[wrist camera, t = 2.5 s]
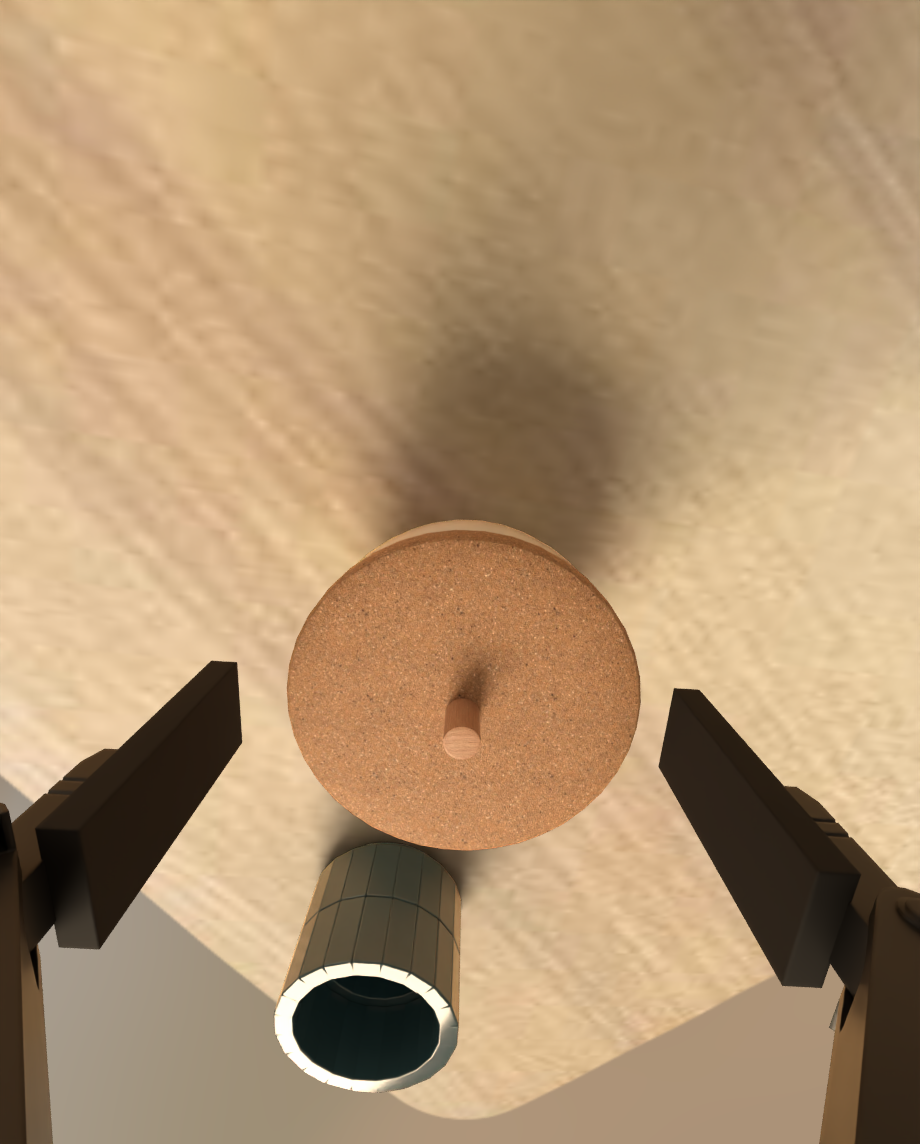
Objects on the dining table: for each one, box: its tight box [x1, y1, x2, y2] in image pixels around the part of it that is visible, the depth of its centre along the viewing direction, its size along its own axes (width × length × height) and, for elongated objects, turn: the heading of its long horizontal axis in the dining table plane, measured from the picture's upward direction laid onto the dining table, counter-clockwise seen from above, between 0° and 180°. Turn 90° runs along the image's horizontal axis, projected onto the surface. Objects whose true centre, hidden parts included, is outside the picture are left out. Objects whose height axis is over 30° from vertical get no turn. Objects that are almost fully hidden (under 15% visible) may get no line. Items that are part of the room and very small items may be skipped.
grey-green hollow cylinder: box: [274, 842, 461, 1093], centre depth 25 cm, size 8×8×6 cm
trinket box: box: [287, 520, 641, 850], centre depth 19 cm, size 11×11×9 cm
